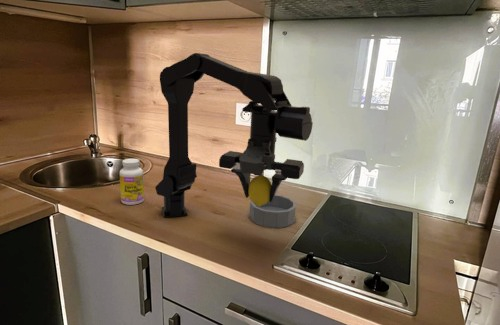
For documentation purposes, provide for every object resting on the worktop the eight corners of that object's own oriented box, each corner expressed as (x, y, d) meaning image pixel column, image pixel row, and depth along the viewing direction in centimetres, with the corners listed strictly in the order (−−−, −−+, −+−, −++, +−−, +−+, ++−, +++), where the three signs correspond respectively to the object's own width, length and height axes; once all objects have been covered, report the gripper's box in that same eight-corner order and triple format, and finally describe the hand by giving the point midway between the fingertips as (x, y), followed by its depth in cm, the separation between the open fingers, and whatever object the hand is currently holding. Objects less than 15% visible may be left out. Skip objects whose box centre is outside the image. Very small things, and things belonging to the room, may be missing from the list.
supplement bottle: (121, 206, 93) (118, 164, 90) (120, 198, 99) (117, 158, 96) (145, 204, 96) (143, 162, 93) (143, 196, 102) (141, 156, 98)
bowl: (244, 210, 95) (244, 196, 94) (282, 206, 99) (283, 192, 98) (259, 230, 83) (260, 214, 82) (302, 224, 88) (304, 209, 87)
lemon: (257, 200, 80) (259, 169, 78) (275, 206, 77) (277, 174, 75) (242, 206, 76) (244, 174, 74) (261, 213, 73) (263, 180, 70)
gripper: (208, 135, 67) (207, 204, 71) (296, 146, 61) (290, 221, 65) (229, 127, 77) (227, 188, 81) (307, 136, 71) (300, 201, 75)
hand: (259, 199), depth 75 cm, fingers closed on lemon, 5 cm apart
